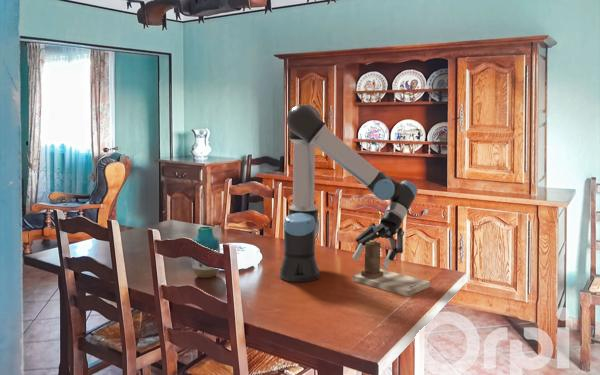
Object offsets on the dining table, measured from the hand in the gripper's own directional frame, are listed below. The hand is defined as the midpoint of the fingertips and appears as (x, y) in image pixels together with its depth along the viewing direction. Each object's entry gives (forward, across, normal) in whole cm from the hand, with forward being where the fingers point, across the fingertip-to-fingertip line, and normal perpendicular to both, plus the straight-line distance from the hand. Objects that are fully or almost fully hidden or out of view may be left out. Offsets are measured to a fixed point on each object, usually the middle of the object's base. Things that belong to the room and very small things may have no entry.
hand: (369, 263), depth 199 cm
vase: (+32, +48, +21) cm, 62 cm away
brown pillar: (+2, 0, -5) cm, 6 cm away
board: (+2, -7, -8) cm, 11 cm away
